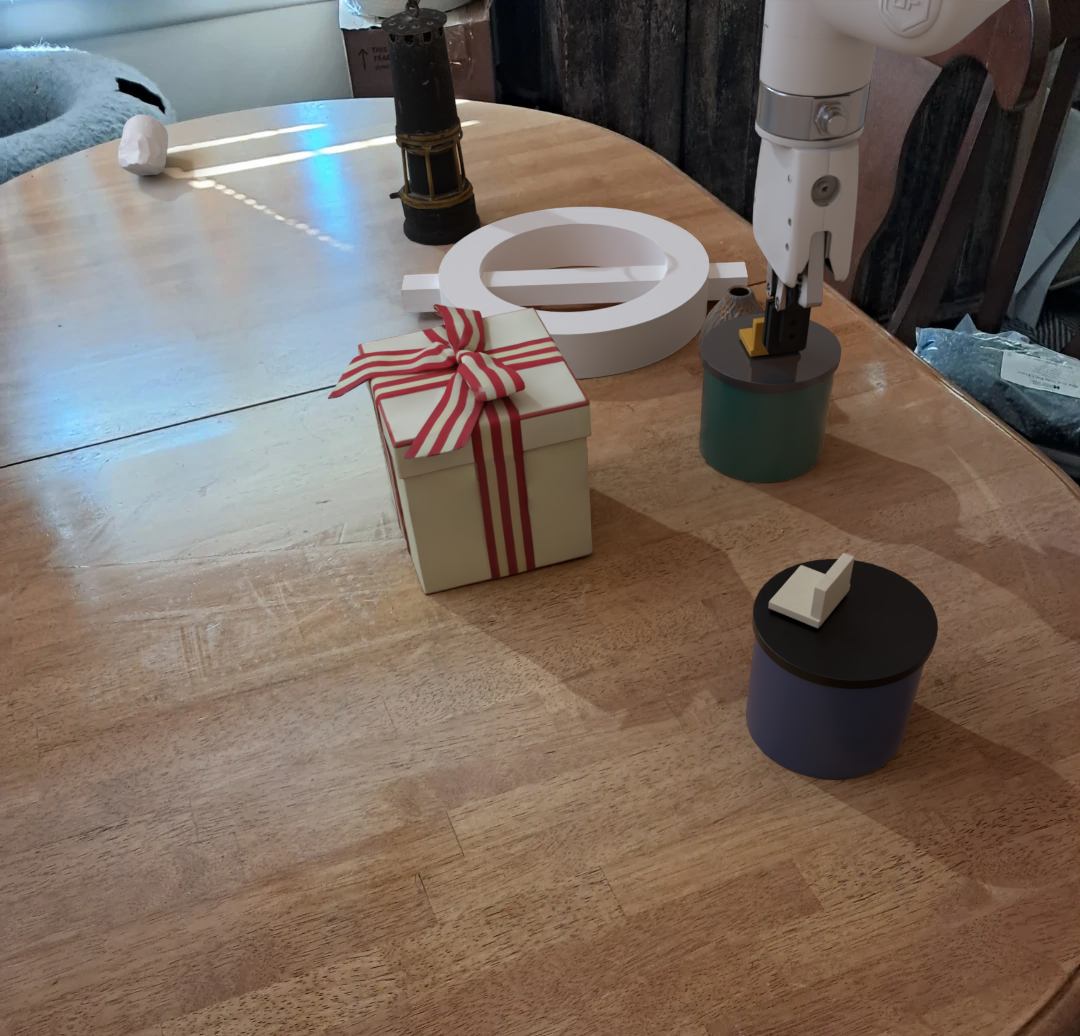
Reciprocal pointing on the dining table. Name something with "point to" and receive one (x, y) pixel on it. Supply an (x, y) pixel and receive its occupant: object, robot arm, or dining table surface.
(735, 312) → the vase
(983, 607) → the dining table surface
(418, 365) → the gift box
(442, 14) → the lantern
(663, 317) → the ring with crossbar
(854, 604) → the blue lidded jar
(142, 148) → the white rock
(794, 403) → the green lidded canister
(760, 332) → the slider
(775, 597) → the slider
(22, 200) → the dining table surface
